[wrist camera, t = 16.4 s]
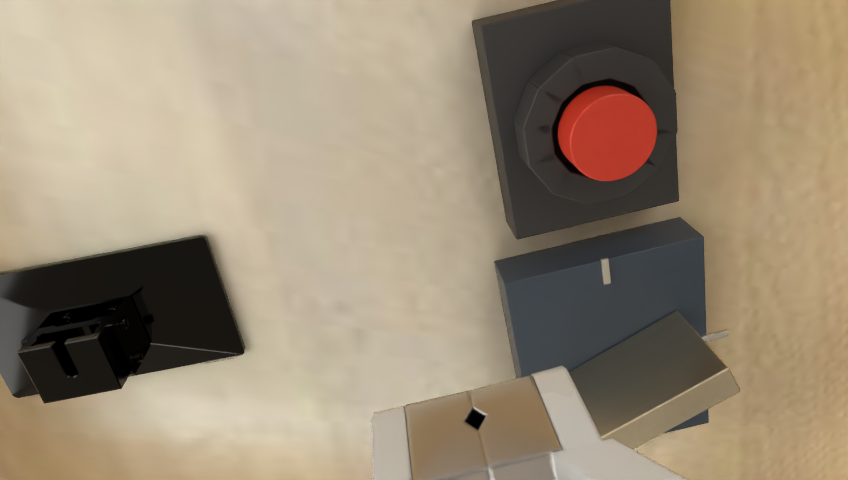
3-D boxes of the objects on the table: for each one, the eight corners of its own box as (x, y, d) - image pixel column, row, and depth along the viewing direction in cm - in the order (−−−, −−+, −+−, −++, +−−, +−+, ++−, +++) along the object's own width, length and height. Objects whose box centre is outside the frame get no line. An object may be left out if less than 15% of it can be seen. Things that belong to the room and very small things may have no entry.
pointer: (676, 309, 32) (732, 371, 27) (688, 331, 32) (744, 394, 28) (541, 386, 33) (572, 458, 28) (556, 405, 34) (588, 479, 29)
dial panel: (473, 264, 33) (482, 288, 30) (700, 210, 32) (727, 230, 30) (509, 438, 38) (519, 471, 35) (705, 391, 38) (729, 421, 35)
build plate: (206, 232, 31) (183, 276, 26) (248, 353, 34) (233, 409, 29) (-46, 281, 30) (-111, 333, 26) (19, 398, 33) (-29, 462, 29)
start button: (551, 96, 26) (564, 105, 24) (637, 76, 26) (655, 83, 24) (562, 177, 27) (574, 190, 25) (642, 157, 27) (660, 170, 25)
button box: (471, 20, 28) (488, 30, 24) (647, -22, 27) (690, -19, 24) (506, 222, 32) (525, 256, 28) (659, 186, 32) (697, 215, 28)
